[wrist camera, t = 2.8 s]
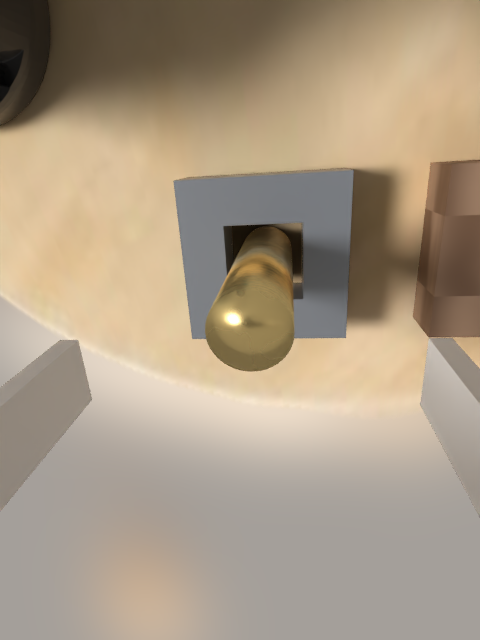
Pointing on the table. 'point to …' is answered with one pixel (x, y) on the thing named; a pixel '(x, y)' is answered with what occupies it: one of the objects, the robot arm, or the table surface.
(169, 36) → the table surface
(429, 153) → the table surface
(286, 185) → the mount block
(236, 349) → the brass pin
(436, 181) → the dock block
